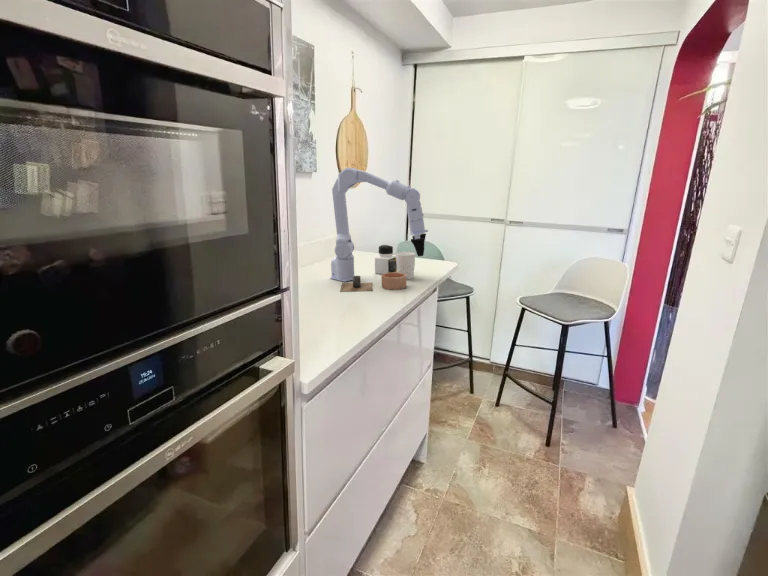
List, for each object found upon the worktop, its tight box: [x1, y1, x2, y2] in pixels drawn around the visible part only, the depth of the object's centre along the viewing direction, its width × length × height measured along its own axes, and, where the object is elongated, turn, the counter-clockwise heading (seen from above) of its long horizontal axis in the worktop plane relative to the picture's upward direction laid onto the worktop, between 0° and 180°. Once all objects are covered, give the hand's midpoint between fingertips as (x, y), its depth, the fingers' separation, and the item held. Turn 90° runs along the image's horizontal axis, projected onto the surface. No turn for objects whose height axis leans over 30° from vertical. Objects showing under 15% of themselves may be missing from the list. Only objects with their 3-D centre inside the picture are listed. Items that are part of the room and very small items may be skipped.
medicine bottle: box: [374, 244, 397, 275], centre depth 184 cm, size 7×7×12 cm
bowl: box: [380, 272, 407, 290], centre depth 162 cm, size 9×9×4 cm
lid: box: [339, 275, 374, 293], centre depth 162 cm, size 12×12×5 cm
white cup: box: [395, 251, 416, 280], centre depth 175 cm, size 8×8×10 cm
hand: (421, 254), depth 169 cm, fingers open, 7 cm apart
